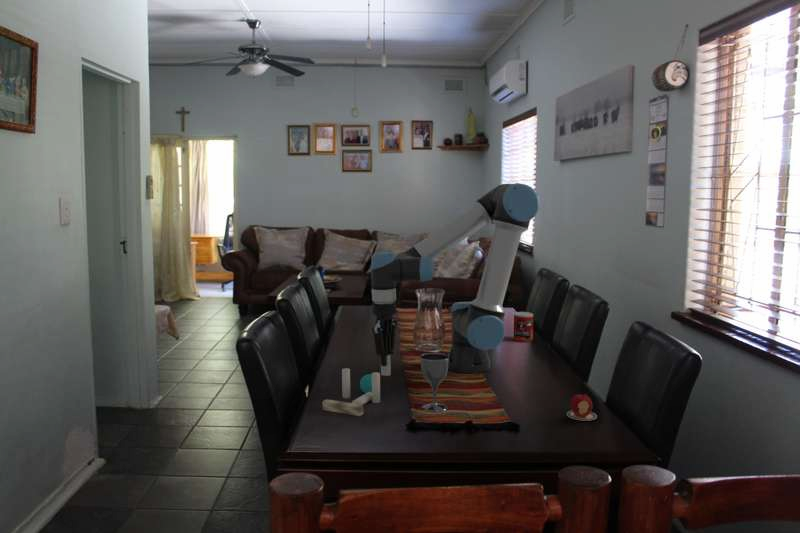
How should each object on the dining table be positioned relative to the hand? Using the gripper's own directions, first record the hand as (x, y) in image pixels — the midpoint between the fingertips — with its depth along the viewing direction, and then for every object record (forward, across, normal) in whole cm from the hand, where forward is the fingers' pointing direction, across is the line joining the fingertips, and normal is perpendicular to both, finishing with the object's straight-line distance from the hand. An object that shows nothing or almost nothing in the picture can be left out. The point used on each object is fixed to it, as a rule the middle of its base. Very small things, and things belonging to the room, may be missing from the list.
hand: (385, 374), depth 206 cm
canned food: (+5, -77, +24) cm, 81 cm away
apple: (+4, +3, +61) cm, 62 cm away
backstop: (+3, +27, 0) cm, 27 cm away
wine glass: (+4, +13, +22) cm, 26 cm away
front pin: (+2, +15, +2) cm, 15 cm away
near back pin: (+3, +16, +5) cm, 17 cm away
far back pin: (+3, +16, -5) cm, 17 cm away
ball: (0, +10, 0) cm, 10 cm away
